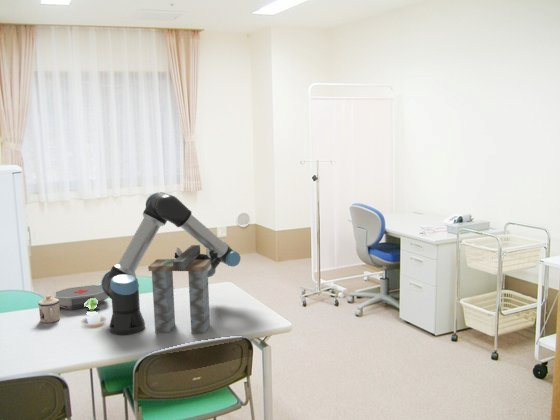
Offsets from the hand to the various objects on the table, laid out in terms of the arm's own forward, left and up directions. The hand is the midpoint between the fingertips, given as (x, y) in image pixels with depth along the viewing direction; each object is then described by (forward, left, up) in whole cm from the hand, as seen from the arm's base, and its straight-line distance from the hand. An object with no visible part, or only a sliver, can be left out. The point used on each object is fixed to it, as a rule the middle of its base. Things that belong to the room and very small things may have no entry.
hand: (192, 250), depth 243 cm
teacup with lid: (-68, -3, -33) cm, 76 cm away
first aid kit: (-63, +19, -33) cm, 74 cm away
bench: (-3, -10, -33) cm, 35 cm away
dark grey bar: (0, -8, -3) cm, 9 cm away
